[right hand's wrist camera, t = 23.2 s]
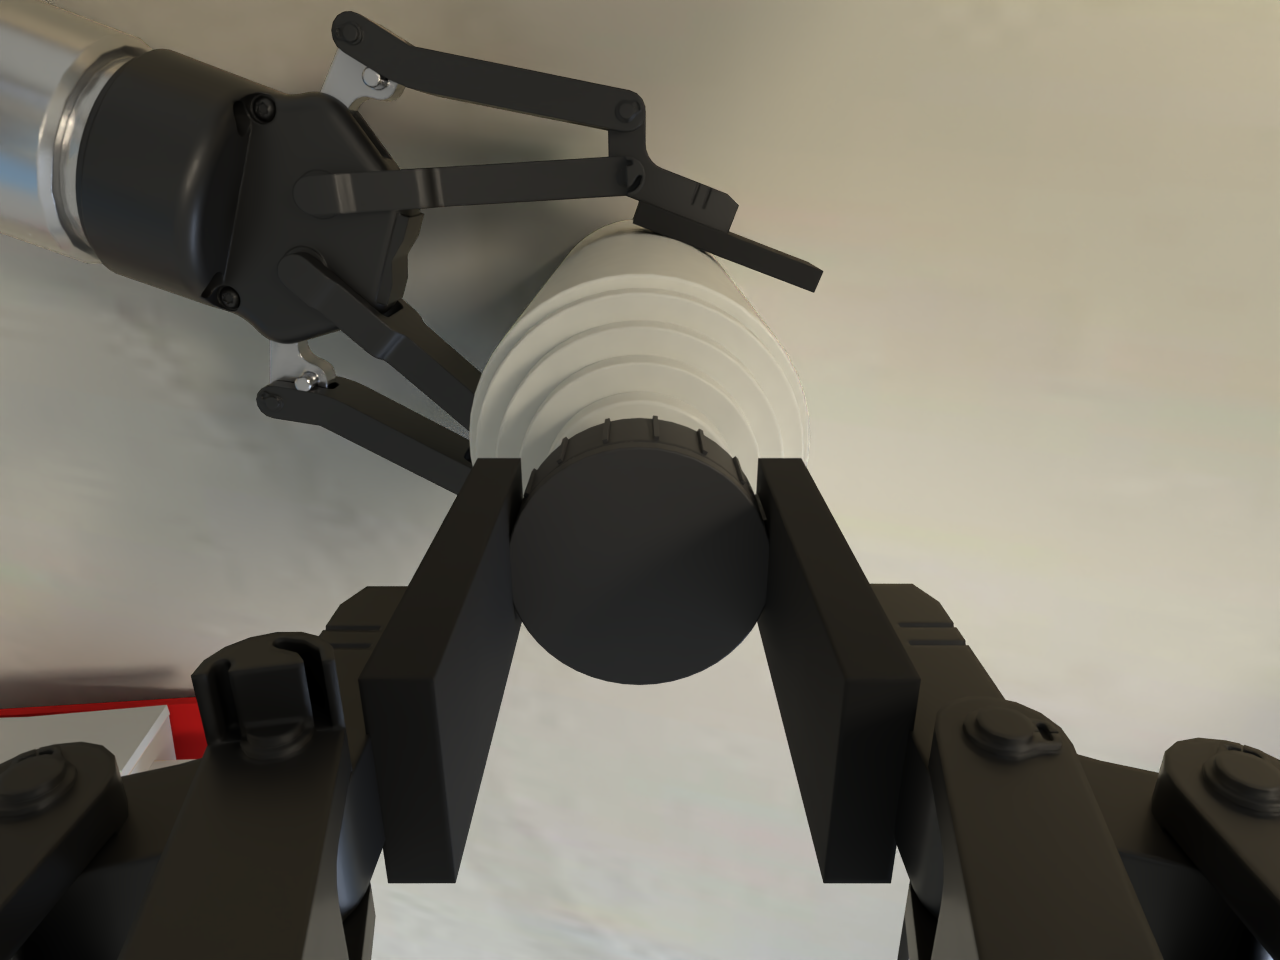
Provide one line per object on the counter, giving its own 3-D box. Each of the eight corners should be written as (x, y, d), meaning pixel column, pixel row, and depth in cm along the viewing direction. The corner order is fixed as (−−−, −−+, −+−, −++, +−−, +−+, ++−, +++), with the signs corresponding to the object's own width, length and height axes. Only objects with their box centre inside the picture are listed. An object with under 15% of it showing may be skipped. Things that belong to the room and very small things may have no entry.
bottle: (693, 424, 37) (766, 788, 16) (527, 369, 36) (360, 674, 15) (758, 256, 35) (956, 414, 13) (580, 191, 34) (474, 244, 12)
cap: (597, 673, 16) (593, 727, 14) (468, 490, 14) (447, 529, 13) (802, 571, 15) (821, 617, 13) (686, 367, 14) (692, 392, 12)
